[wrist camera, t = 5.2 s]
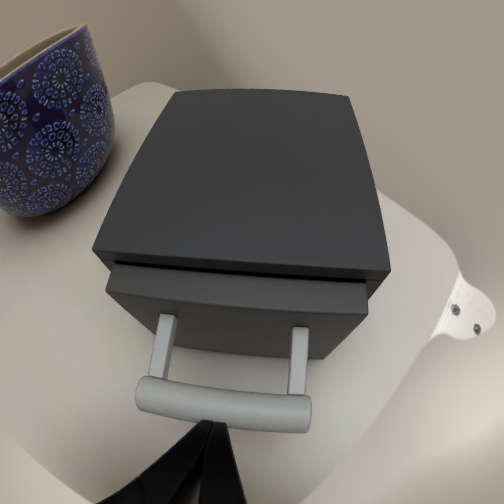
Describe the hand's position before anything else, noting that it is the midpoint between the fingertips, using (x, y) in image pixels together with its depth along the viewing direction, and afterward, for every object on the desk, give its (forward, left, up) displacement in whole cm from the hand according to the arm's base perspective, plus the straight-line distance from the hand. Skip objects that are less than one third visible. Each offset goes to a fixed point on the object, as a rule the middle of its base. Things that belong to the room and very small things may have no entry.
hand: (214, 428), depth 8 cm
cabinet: (+11, 0, -7) cm, 13 cm away
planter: (+19, +22, -7) cm, 30 cm away
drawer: (+7, 0, -6) cm, 9 cm away
